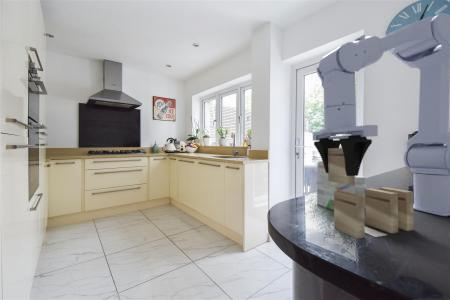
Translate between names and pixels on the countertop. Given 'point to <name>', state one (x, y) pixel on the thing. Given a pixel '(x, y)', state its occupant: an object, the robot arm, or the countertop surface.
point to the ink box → (329, 187)
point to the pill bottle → (360, 186)
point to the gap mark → (373, 232)
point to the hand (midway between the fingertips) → (340, 174)
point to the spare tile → (338, 167)
